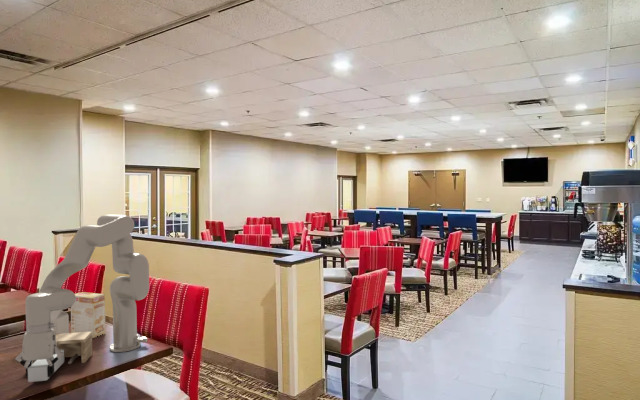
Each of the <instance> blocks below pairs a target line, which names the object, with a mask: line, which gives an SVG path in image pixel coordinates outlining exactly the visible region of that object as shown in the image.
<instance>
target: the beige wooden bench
mask: <svg viewBox="0 0 640 400" xmlns="http://www.w3.org/2000/svg"><path fill="white" fill-rule="evenodd" d="M55 335H56V340H57V348H58V349H59V350H64V358H70V359H69V360H68V361H67V364H68V365H72V364H73V362H74V361H75V360H76V359H77V358H78V357H81V364H86V362H87V361H88V360H89V359H90V357H91V356H92V355H93V338H92V332H78V333H71V332H69V333H64V334H55ZM35 361H36V360H33V361H32V363H31V364H33V363H34V362H35Z"/></svg>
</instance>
